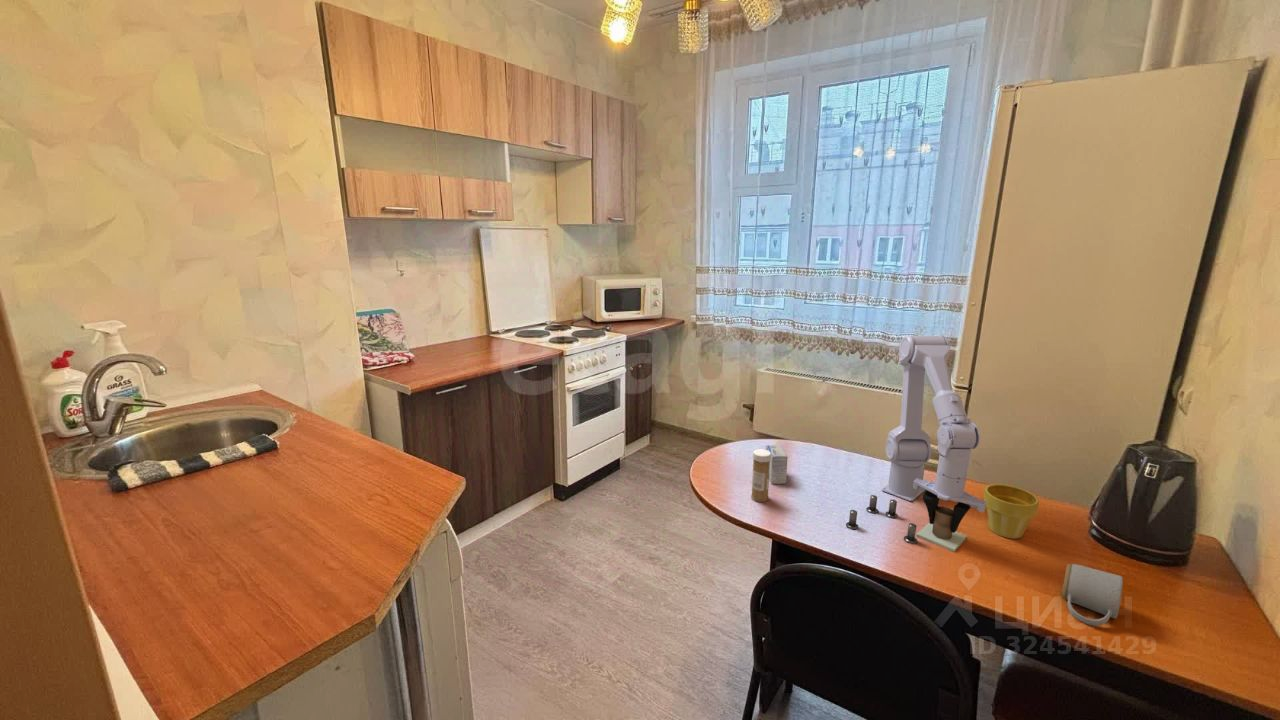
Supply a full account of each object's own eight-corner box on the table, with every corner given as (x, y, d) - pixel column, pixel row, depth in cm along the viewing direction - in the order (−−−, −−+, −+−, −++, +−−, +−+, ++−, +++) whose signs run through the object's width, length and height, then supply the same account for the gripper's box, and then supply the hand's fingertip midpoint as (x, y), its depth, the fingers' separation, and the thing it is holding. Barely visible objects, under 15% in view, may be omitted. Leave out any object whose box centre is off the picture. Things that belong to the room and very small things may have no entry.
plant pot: (968, 520, 126) (974, 484, 123) (1007, 517, 127) (1014, 482, 124) (1001, 545, 116) (1008, 506, 113) (1043, 542, 117) (1051, 504, 114)
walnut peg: (935, 526, 121) (939, 504, 120) (954, 534, 118) (958, 511, 117) (929, 533, 119) (932, 510, 117) (948, 541, 116) (952, 517, 114)
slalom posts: (872, 504, 133) (873, 490, 132) (931, 528, 122) (934, 513, 121) (843, 526, 124) (845, 511, 123) (905, 553, 113) (908, 537, 112)
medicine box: (786, 484, 144) (788, 456, 142) (770, 484, 144) (772, 456, 142) (779, 471, 152) (781, 444, 149) (764, 471, 152) (765, 444, 149)
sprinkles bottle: (771, 499, 136) (774, 453, 133) (759, 504, 134) (762, 457, 130) (759, 492, 140) (761, 447, 136) (747, 497, 137) (749, 451, 134)
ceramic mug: (1061, 585, 103) (1069, 552, 101) (1116, 604, 97) (1125, 570, 95) (1057, 615, 95) (1065, 580, 93) (1116, 637, 90) (1126, 601, 88)
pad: (929, 523, 124) (930, 521, 124) (966, 537, 119) (966, 535, 118) (916, 536, 119) (916, 534, 119) (954, 551, 113) (954, 549, 113)
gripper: (910, 467, 118) (903, 519, 121) (982, 491, 107) (972, 547, 110) (922, 458, 122) (915, 509, 125) (993, 480, 111) (983, 534, 115)
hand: (943, 526), depth 118 cm, fingers closed on walnut peg, 4 cm apart
